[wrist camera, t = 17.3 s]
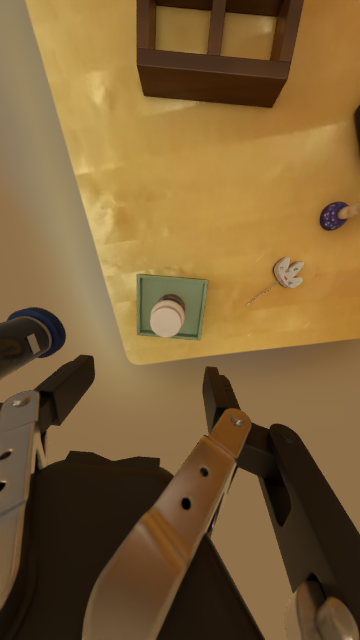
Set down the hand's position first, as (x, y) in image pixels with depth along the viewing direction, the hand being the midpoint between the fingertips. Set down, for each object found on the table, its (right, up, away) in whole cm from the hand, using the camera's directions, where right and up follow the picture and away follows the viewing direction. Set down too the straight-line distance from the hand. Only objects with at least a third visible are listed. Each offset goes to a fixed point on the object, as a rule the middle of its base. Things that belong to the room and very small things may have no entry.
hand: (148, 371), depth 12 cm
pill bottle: (0, +6, +22) cm, 23 cm away
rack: (+7, +41, +11) cm, 43 cm away
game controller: (+20, +11, +21) cm, 31 cm away
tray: (0, +6, +23) cm, 24 cm away
